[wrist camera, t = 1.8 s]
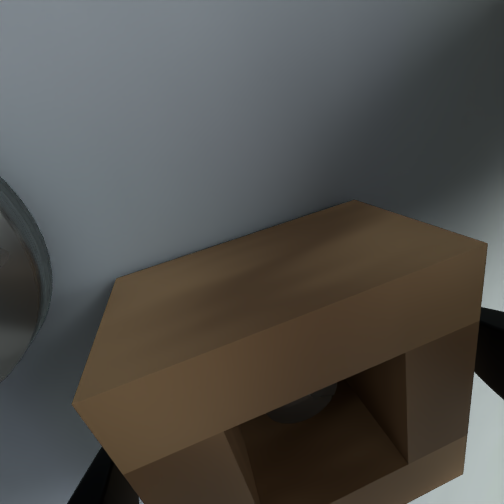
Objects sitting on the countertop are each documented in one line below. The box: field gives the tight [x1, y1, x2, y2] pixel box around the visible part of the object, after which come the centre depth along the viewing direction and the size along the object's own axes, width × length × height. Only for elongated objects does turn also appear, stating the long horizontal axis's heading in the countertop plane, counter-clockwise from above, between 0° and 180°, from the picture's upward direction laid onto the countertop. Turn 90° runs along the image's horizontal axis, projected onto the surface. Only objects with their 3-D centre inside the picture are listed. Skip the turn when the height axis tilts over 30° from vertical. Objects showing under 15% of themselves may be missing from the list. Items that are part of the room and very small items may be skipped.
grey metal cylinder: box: [266, 383, 337, 424], centre depth 8 cm, size 2×2×2 cm
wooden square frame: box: [72, 200, 488, 504], centre depth 8 cm, size 7×7×4 cm
